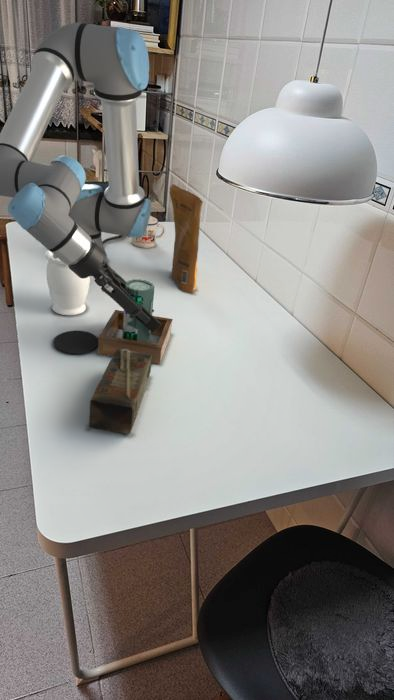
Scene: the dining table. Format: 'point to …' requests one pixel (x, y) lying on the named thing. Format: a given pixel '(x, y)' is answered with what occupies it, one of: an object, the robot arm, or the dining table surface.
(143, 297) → the can
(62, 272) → the jar
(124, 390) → the beverage carton
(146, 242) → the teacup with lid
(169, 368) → the dining table surface
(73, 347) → the coaster
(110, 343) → the wooden square frame
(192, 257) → the pancake mix bag
